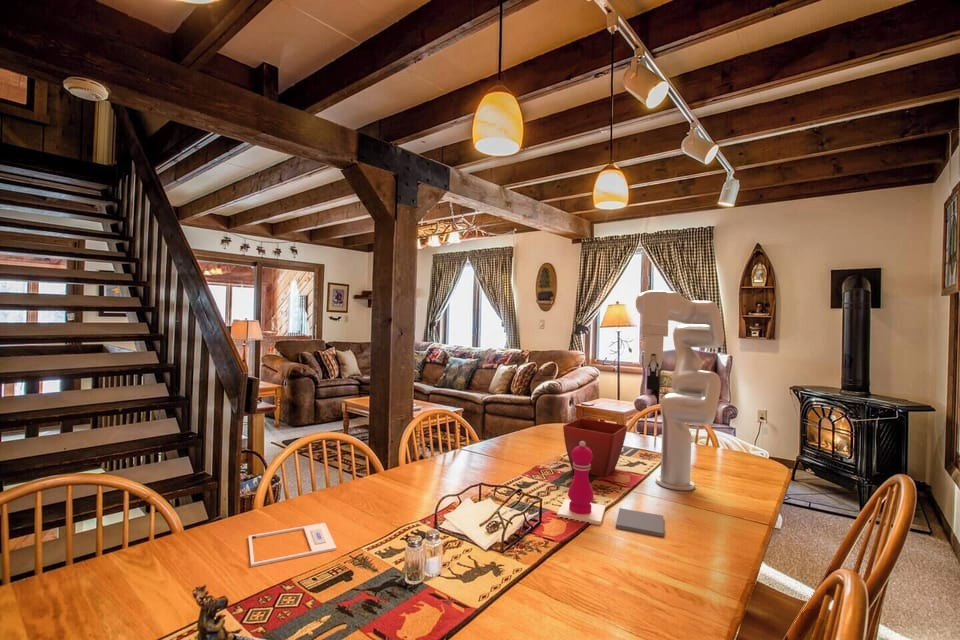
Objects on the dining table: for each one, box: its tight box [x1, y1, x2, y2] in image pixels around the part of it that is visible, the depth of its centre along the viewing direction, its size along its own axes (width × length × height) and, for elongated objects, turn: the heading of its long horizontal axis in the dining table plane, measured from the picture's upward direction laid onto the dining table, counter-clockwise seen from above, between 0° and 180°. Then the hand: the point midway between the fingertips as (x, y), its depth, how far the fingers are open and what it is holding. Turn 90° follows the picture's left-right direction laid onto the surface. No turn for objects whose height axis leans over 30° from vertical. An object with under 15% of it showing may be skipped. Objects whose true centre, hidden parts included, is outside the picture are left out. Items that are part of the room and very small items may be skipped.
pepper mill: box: [567, 441, 594, 514], centre depth 134 cm, size 7×7×20 cm
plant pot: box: [562, 417, 628, 478], centre depth 175 cm, size 19×19×17 cm
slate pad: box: [615, 507, 665, 538], centre depth 129 cm, size 12×12×1 cm
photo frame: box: [247, 522, 337, 568], centre depth 111 cm, size 15×1×18 cm
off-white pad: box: [556, 498, 606, 526], centre depth 135 cm, size 12×12×1 cm
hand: (652, 387), depth 141 cm, fingers open, 9 cm apart
